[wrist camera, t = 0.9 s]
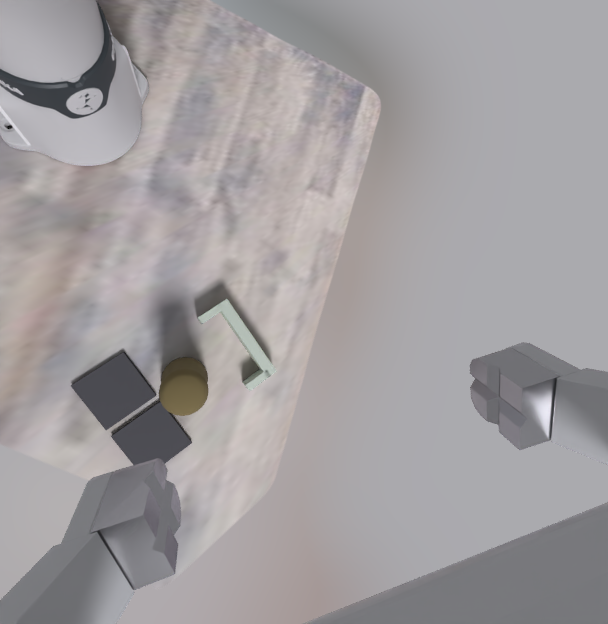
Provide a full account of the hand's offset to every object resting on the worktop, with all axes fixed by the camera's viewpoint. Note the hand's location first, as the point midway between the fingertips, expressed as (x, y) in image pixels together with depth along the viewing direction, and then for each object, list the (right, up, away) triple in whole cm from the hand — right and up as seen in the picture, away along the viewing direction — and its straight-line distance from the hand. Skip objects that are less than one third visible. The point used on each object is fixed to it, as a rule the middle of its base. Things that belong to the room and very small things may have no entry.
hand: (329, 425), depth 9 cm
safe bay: (-10, -2, +42) cm, 43 cm away
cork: (-17, -6, +40) cm, 44 cm away
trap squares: (-23, -11, +37) cm, 45 cm away
